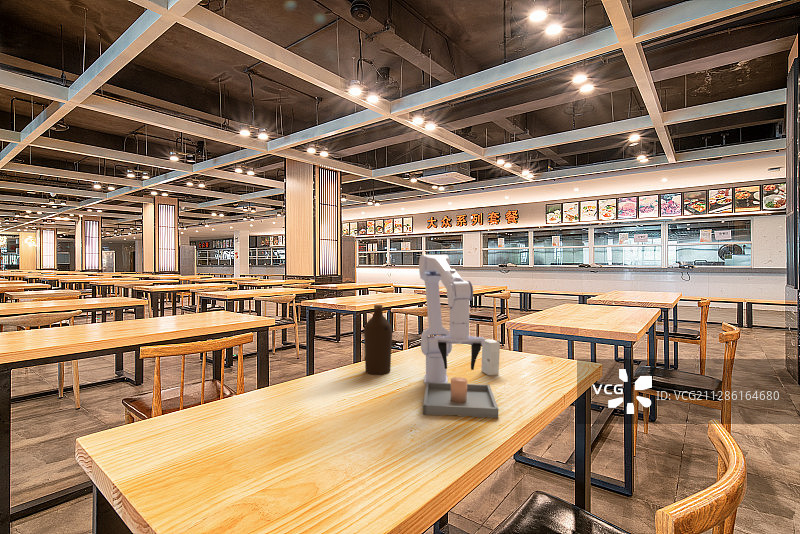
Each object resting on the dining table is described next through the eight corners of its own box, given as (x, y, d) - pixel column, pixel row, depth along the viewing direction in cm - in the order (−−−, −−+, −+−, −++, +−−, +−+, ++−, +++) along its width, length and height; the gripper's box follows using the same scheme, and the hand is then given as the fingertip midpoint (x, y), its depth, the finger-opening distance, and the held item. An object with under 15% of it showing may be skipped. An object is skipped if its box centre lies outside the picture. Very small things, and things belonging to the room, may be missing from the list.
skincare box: (480, 371, 146) (481, 339, 146) (491, 370, 148) (491, 338, 147) (489, 375, 140) (489, 342, 140) (500, 374, 142) (500, 341, 141)
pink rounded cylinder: (450, 396, 116) (450, 376, 116) (466, 397, 116) (466, 377, 116) (450, 402, 111) (451, 382, 111) (467, 403, 111) (467, 382, 111)
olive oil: (396, 369, 149) (396, 304, 148) (385, 376, 139) (385, 307, 138) (370, 366, 152) (371, 303, 152) (359, 373, 142) (359, 306, 142)
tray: (426, 390, 125) (426, 382, 125) (489, 392, 122) (489, 384, 122) (423, 414, 105) (423, 405, 105) (498, 418, 103) (498, 408, 102)
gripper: (434, 323, 110) (433, 371, 110) (486, 325, 108) (485, 373, 109) (434, 320, 117) (434, 364, 117) (483, 321, 115) (483, 366, 116)
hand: (459, 368), depth 113 cm, fingers open, 7 cm apart
